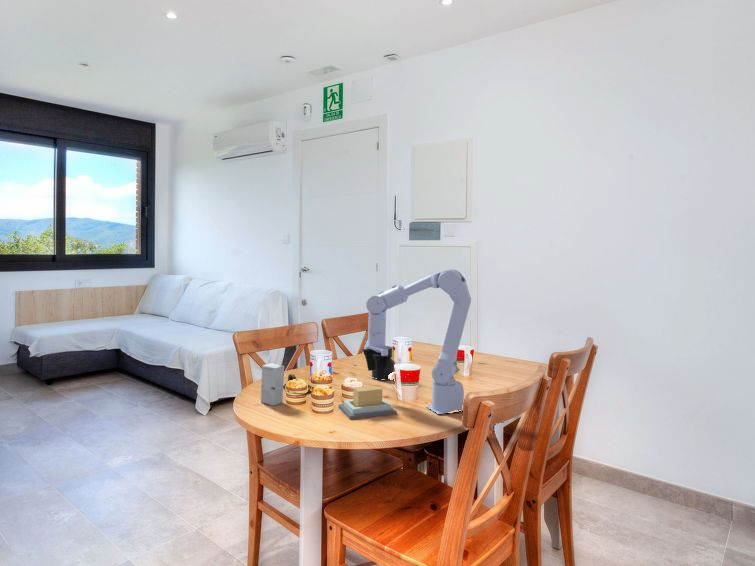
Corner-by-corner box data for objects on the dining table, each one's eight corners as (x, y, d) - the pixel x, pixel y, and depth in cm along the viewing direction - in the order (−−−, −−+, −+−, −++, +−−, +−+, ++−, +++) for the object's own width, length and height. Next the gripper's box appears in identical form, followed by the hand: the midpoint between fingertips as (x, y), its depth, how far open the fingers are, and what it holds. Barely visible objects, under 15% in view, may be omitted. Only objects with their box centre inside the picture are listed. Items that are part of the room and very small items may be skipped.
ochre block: (353, 406, 148) (353, 387, 147) (376, 404, 151) (377, 385, 150) (357, 410, 144) (358, 391, 143) (381, 408, 147) (382, 389, 147)
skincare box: (260, 402, 152) (260, 365, 152) (269, 399, 156) (270, 362, 156) (274, 406, 149) (275, 368, 149) (284, 402, 153) (284, 365, 153)
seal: (319, 395, 166) (298, 385, 178) (321, 382, 166) (300, 372, 178) (295, 397, 160) (275, 386, 172) (297, 383, 160) (277, 373, 172)
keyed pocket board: (382, 403, 155) (382, 395, 155) (396, 413, 145) (396, 405, 145) (338, 407, 149) (338, 399, 149) (349, 419, 139) (350, 411, 139)
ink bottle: (399, 377, 187) (400, 347, 186) (386, 382, 180) (387, 351, 179) (379, 373, 193) (380, 344, 192) (366, 377, 186) (366, 347, 185)
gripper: (357, 328, 161) (356, 368, 161) (373, 336, 147) (372, 379, 148) (376, 328, 163) (375, 367, 164) (394, 335, 150) (393, 377, 151)
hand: (375, 373), depth 156 cm, fingers open, 7 cm apart
